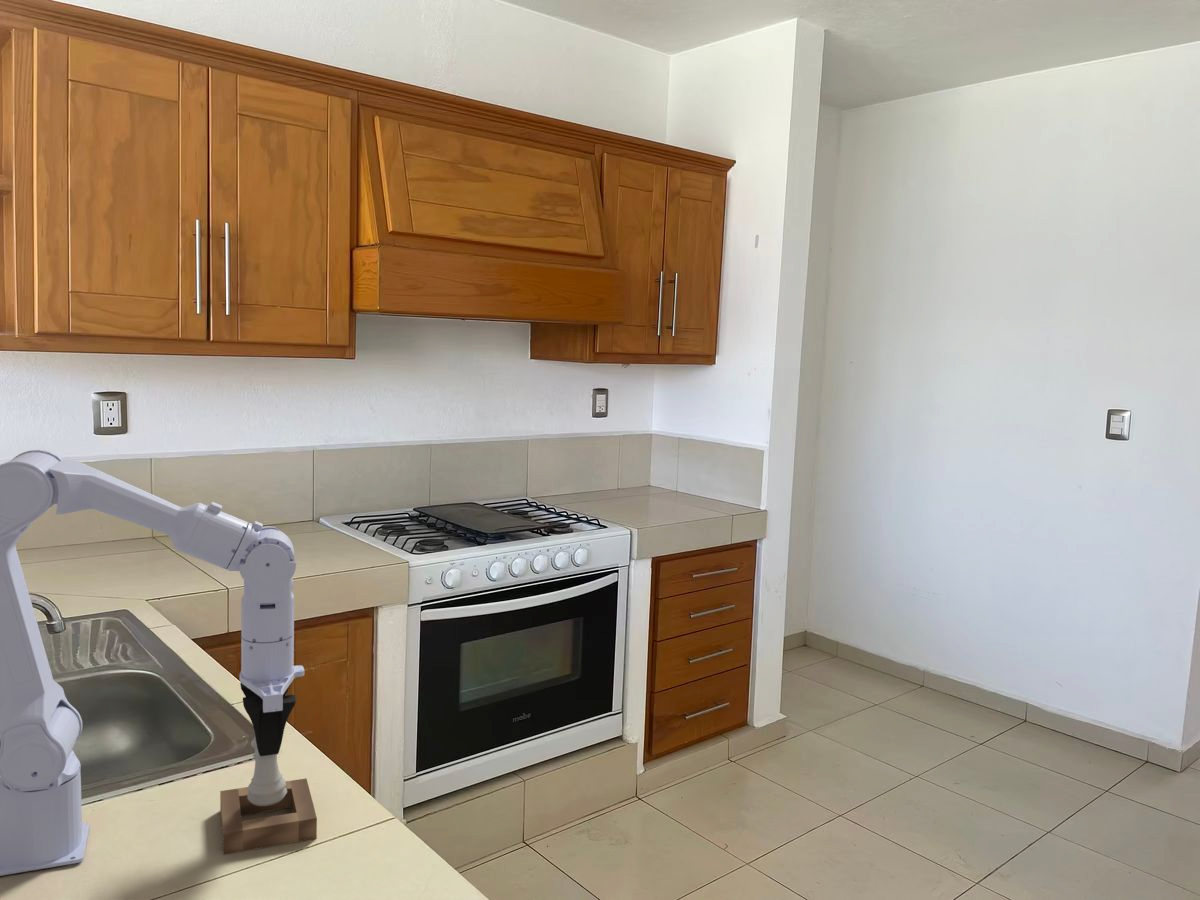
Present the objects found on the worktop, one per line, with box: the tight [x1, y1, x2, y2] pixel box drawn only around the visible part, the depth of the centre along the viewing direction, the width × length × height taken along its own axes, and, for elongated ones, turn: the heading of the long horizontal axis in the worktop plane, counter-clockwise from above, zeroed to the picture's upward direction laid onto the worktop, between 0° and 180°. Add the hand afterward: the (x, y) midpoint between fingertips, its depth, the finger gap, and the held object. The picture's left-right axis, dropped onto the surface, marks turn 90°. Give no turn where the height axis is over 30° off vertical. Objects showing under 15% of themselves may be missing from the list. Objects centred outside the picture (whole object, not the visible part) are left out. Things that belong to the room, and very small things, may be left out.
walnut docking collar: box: [219, 778, 318, 855], centre depth 109 cm, size 10×10×2 cm
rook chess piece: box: [247, 733, 287, 806], centre depth 109 cm, size 4×4×8 cm
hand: (267, 746), depth 108 cm, fingers closed on rook chess piece, 3 cm apart
